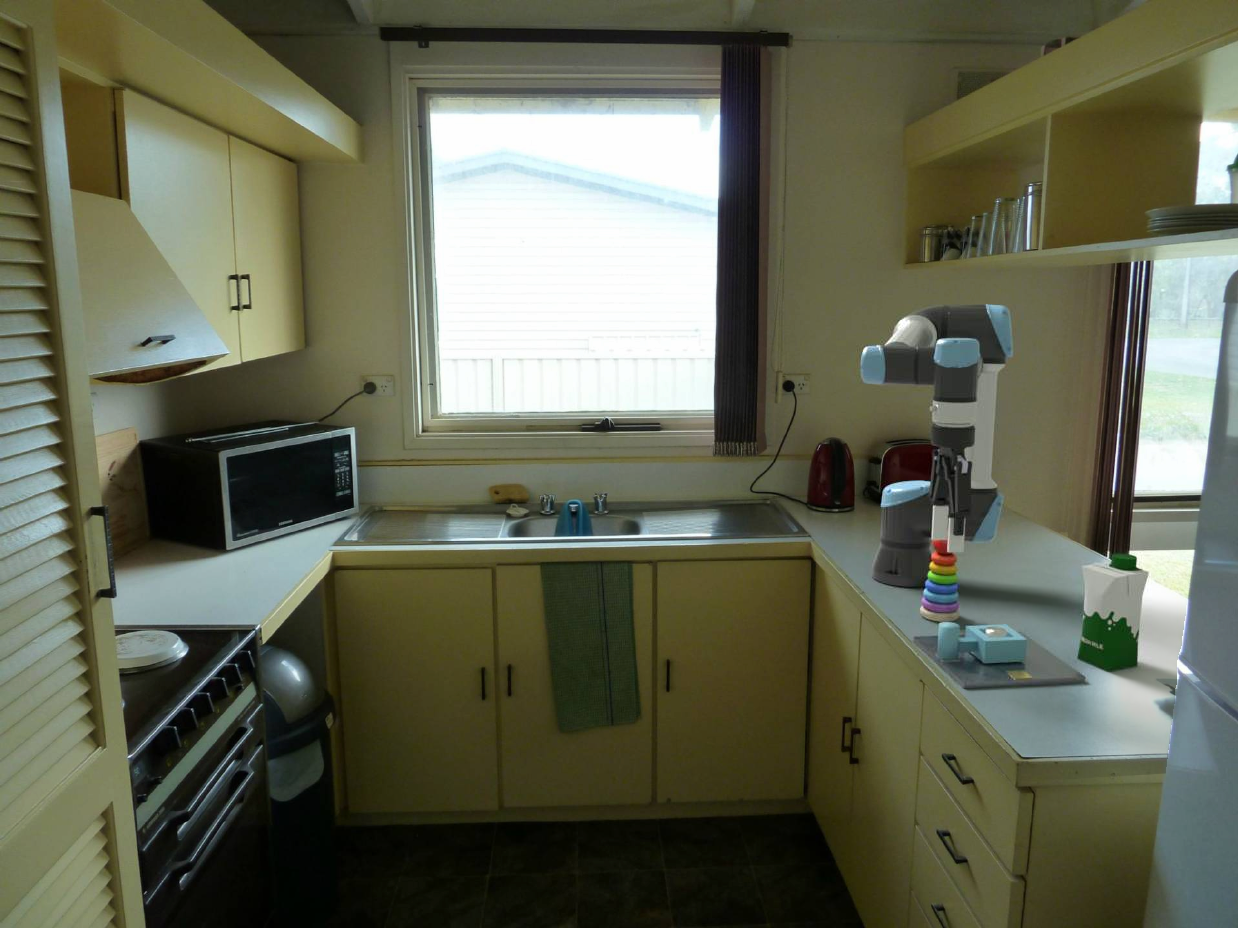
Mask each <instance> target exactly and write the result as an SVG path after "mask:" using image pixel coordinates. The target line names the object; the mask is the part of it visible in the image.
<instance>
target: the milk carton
mask: <svg viewBox="0 0 1238 928" xmlns="http://www.w3.org/2000/svg"><path fill="white" fill-rule="evenodd" d="M1137 561H1138V557H1137V556H1136V555H1133V554H1130V553H1122V552H1118V553H1112V554H1111V560H1110V561H1104V562H1095V563H1094V562H1093V563H1091V564H1088V565H1082V566H1081V568H1082V574H1083V581H1084V590H1085V591H1084V602H1083V615H1082V627H1081V635H1080V640H1079V645H1078V646H1079V647H1078V651H1077V652H1078V653H1077V656H1076V658H1077V659H1079V660H1081V661H1082V662H1085V663H1088V664H1090V665H1092V666H1094V667H1097V668H1099V669H1100V670H1103V671H1106V672H1108V673H1110V672H1115V671H1120V670H1123V669H1124V670H1125V669H1130V668H1134V667H1138V666H1139V665H1138V664H1139V663H1138V662H1139V661H1138V657H1139V637H1140V625H1141V616H1142V615H1141V614H1142V604H1143V596H1144V591H1145V588H1146V584H1147V580H1148V578H1149V573H1150V572H1149V571H1147V570H1144V569H1142V568H1139V567H1137V563H1138V562H1137Z"/></svg>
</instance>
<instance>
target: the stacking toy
mask: <svg viewBox="0 0 1238 928" xmlns="http://www.w3.org/2000/svg"><path fill="white" fill-rule="evenodd" d="M931 545H932V547H933V550H934V551H935V552H932V555H931V559H932V561H933V562H931V563H930V566H929V567H930V570H931V571H929V573H928V580H927V581H926V583H925V586H924V587H925V588H924V590H923V593H922V594H923V597H922V599H921V606H920V608H919V613H920V615H921V616H922V617H923V618H925V619H927V620H929V621H933V622H939V623H942V622H955V621H956V620H958V619H959V617H960V610H959V608H960V603H959V597H960V596H959V593H958V590H959V585H958V583H957V582H958V579H959V577H958V574H957V571H958V566H957V564H956V563H957V561H958V558H957V555H955V554H954V552H947V545H948V531H947V540H931Z"/></svg>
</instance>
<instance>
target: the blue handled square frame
mask: <svg viewBox="0 0 1238 928" xmlns="http://www.w3.org/2000/svg"><path fill="white" fill-rule="evenodd" d="M987 627H1000V628H1003V629H1005V630H1006V631H1007V633H1006V637H995V638H990V637H988V636H987V635H986V634H985V630H986V628H987ZM960 629H961V628H960V625H959V624H958V623H955V622H953V621H951V622H939V623H938V632H937V634H938V635H937V636H938V651H937V656H938V657H939V658H941V659H945V660H956V659H957V658H958V652H971V653H972V654H974V655H975V656H976V657H977V658H978V659H980V660H981V661H982V662H983V663H1002V662H1023V661H1026V648H1027V639H1026V638H1024V637H1023V636H1021V635H1020V634H1019V633H1017V632H1018V631H1016V630H1014V629H1013V628H1012V627H1010V626H1009V625H1008V624H983V625H966V626H965V633H964V634H965V638H959V635H960Z"/></svg>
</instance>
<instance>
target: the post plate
mask: <svg viewBox="0 0 1238 928" xmlns="http://www.w3.org/2000/svg"><path fill="white" fill-rule="evenodd" d="M1016 632H1017V633H1019V634H1020V635H1021V636H1023V637H1024V638H1026V639H1027V648H1026V661H1023V662H1002V663H983V662H982V661H981V660H980V659H978V658H977V657H976V656H975V655H974V654H972V653H971V652H958V658H957V659H956V660H945V659H941V658H939V657H938V656H937V651H938V635H921V636H912V637H913V638H912V641H913V643H914V644H915V645H916V646H917V647H919V649H921V650H922V652H924V653H925V654H926V655H927V656H928V657H930V659H932V661H934V663H936V664H937V666H939V667H940V668H941V669H942V670H943V671H944V672H945V673H946V674H947V675H949V676H950V677H951V678H952V679H953V680H954V681H955V682H956V683H957V684H958V685H959V686H960V687H961V688H962V689H973V688H974V689H975V688H976V689H979V688H980V689H981V688H995V687H996V688H997V687H998V688H1000V687H1017V686H1019V687H1020V686H1034V685H1035V686H1036V685H1037V686H1039V685H1040V686H1041V685H1057V684H1058V685H1060V684H1076V683H1086V676H1085V675H1083V674H1082V673H1080V672H1079V671H1078V670H1076V669H1075V668H1073V667H1072V666H1071V665H1070V664H1068V663H1066V662H1065V661H1063V660H1062V659H1061V658H1059V657H1058V656H1056V655H1055V654H1054V653H1052V652H1050V651H1049V650H1048V649H1046V648H1045V647H1044V646H1042V645H1040V644H1039V643H1037V642H1036V641H1034V639H1032V638H1031V637H1029V636H1028V635H1026V634H1025V633H1024V632H1022V631H1016ZM1006 633H1007V631H1006V630H1005V629H1003V628H1000V627H987V628H986V630H985V634H986V635H987V636H988V637H990V638H995V637H1006ZM965 634H966V633H963V634H959V638H965Z"/></svg>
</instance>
